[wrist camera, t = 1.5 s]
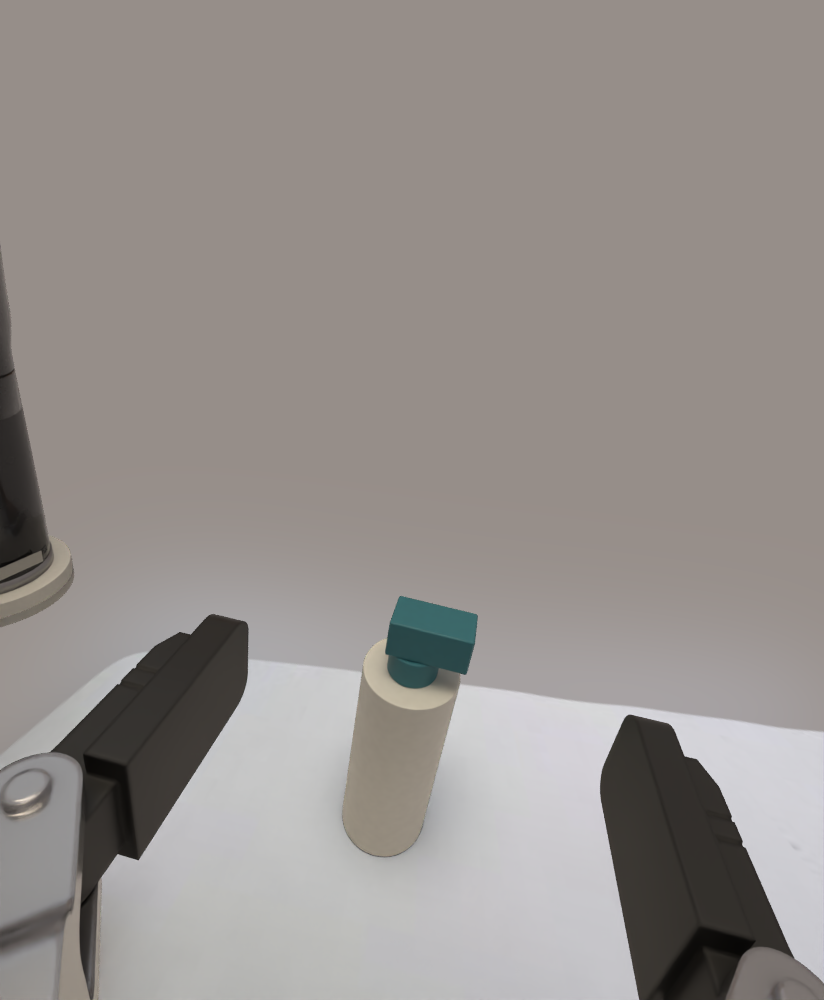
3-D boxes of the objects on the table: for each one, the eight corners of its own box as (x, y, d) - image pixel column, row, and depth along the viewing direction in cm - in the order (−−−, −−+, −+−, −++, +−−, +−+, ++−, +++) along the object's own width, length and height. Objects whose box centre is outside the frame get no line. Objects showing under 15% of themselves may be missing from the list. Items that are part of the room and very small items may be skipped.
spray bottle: (330, 842, 29) (358, 636, 22) (355, 765, 33) (384, 574, 26) (416, 868, 28) (472, 665, 21) (430, 786, 33) (480, 597, 26)
